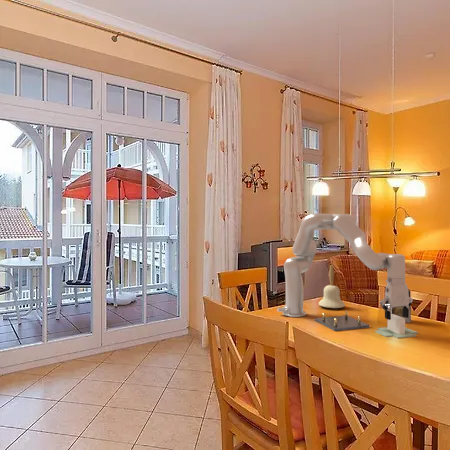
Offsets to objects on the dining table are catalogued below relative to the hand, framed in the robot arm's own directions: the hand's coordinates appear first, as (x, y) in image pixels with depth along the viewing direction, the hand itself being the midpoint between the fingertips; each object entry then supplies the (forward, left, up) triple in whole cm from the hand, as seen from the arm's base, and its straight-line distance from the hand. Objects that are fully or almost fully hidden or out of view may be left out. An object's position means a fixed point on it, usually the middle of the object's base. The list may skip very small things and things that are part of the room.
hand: (396, 318), depth 176 cm
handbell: (-2, +52, -7) cm, 53 cm away
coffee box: (+16, +16, -7) cm, 24 cm away
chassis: (-16, +20, -7) cm, 27 cm away
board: (0, 0, -7) cm, 7 cm away
